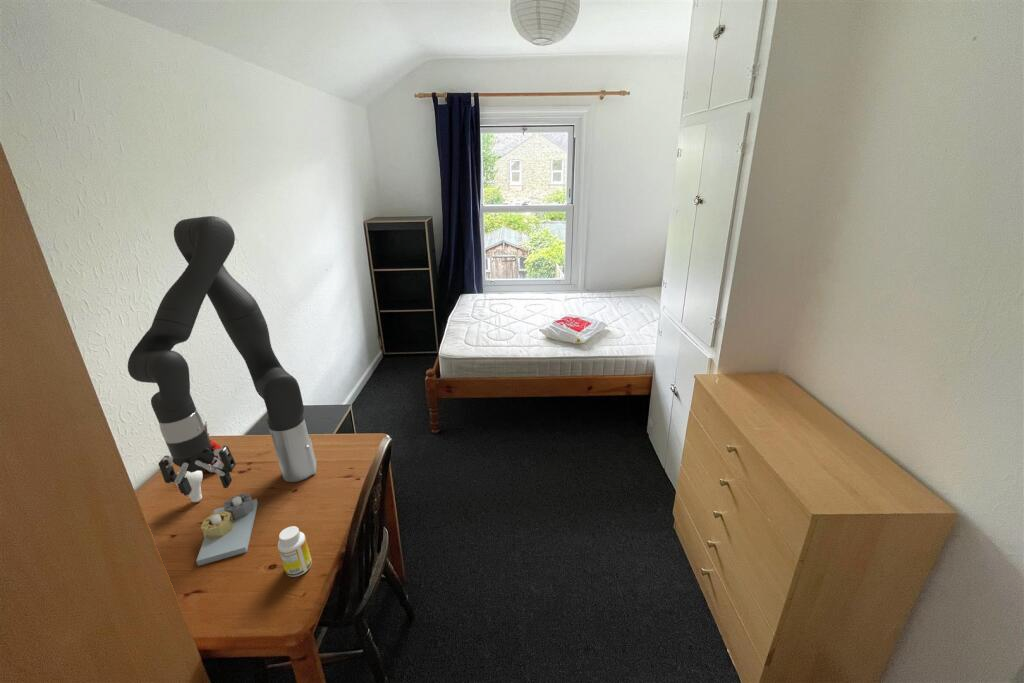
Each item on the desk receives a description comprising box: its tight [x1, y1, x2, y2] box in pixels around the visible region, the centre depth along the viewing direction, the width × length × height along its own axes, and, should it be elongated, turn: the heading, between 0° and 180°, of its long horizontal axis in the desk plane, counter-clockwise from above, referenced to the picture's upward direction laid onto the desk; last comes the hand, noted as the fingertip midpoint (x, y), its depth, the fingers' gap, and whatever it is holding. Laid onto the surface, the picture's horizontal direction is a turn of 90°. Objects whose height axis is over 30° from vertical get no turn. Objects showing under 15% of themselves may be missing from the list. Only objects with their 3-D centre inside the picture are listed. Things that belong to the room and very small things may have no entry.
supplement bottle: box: [277, 525, 313, 578], centre depth 98 cm, size 6×6×10 cm
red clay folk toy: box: [202, 421, 223, 474], centre depth 134 cm, size 8×7×15 cm
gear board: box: [195, 493, 259, 566], centre depth 110 cm, size 10×18×6 cm, turn 21°
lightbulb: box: [175, 471, 204, 503], centre depth 121 cm, size 6×6×11 cm
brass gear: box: [200, 511, 234, 540], centre depth 109 cm, size 6×6×3 cm
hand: (208, 489), depth 106 cm, fingers open, 8 cm apart
